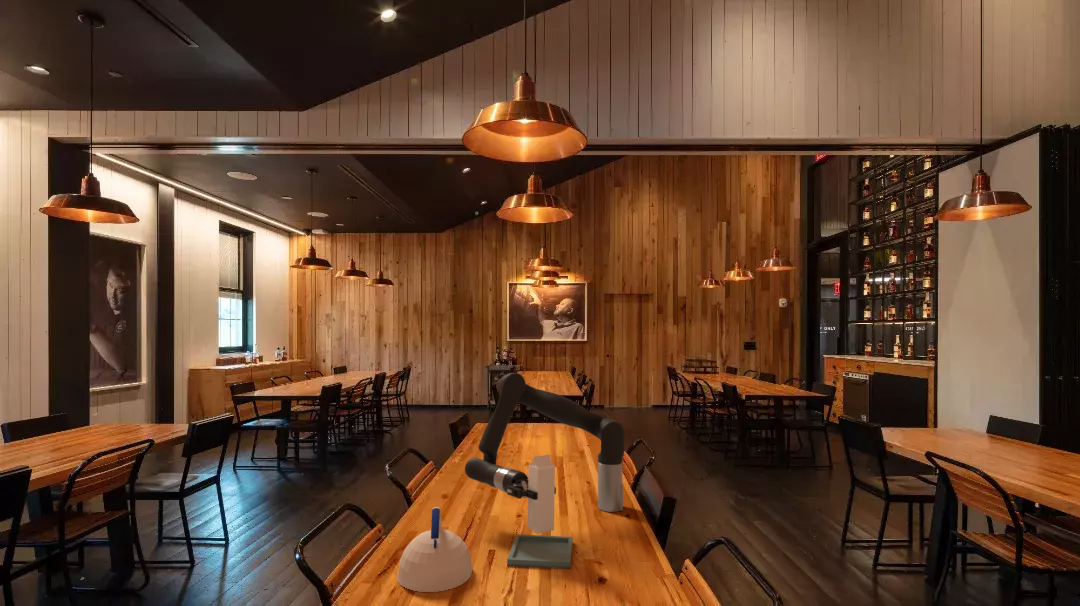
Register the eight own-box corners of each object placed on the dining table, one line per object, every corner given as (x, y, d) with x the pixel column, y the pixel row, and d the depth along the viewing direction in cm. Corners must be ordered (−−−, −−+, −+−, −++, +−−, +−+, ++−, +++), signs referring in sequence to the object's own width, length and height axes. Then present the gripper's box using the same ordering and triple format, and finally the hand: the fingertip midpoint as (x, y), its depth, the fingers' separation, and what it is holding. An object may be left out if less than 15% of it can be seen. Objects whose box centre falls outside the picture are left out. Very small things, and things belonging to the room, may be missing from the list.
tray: (572, 542, 163) (572, 536, 163) (570, 568, 145) (570, 562, 145) (516, 540, 165) (516, 534, 165) (507, 565, 147) (507, 559, 147)
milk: (554, 530, 154) (555, 456, 155) (536, 534, 151) (538, 458, 152) (544, 523, 160) (545, 452, 161) (526, 526, 157) (528, 454, 158)
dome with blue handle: (470, 555, 154) (471, 494, 155) (473, 590, 134) (474, 519, 134) (401, 560, 150) (402, 498, 151) (393, 597, 130) (394, 524, 131)
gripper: (493, 473, 161) (529, 485, 150) (527, 465, 171) (562, 476, 160) (493, 497, 161) (528, 512, 149) (526, 488, 171) (562, 500, 159)
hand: (546, 493), depth 154 cm, fingers closed on milk, 7 cm apart
